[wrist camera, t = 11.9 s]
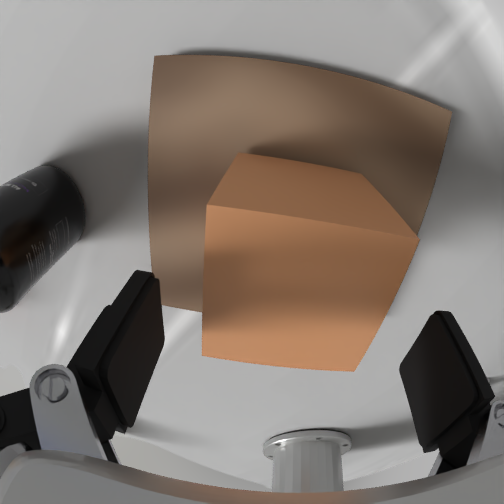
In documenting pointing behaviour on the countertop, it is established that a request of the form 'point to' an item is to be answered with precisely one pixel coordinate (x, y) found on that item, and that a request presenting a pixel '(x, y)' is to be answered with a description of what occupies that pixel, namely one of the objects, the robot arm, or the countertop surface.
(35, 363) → the countertop surface
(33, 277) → the supplement bottle
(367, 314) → the peach colored cube
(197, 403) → the countertop surface
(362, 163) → the walnut board
